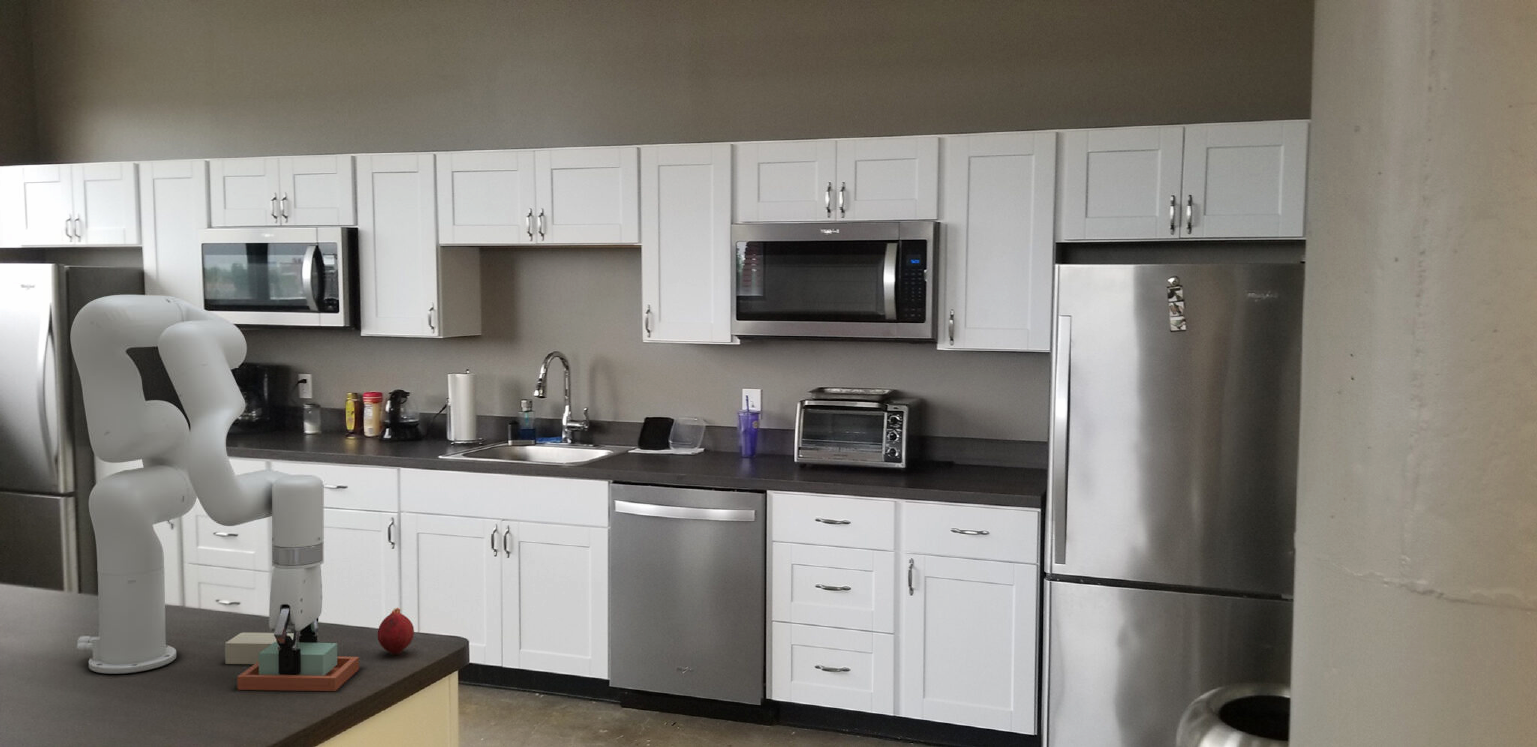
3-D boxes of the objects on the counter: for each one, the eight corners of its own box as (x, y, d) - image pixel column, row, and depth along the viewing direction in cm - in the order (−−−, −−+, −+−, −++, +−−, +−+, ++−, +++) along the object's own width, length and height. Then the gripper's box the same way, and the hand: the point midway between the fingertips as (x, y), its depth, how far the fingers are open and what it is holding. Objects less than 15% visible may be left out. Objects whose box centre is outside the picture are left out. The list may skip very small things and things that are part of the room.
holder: (237, 689, 177) (237, 676, 177) (266, 667, 188) (266, 655, 188) (335, 691, 178) (335, 677, 177) (359, 669, 188) (359, 656, 188)
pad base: (258, 675, 180) (258, 652, 179) (274, 662, 186) (274, 641, 185) (323, 676, 180) (323, 654, 179) (337, 664, 186) (337, 642, 185)
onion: (402, 661, 192) (402, 613, 192) (371, 658, 193) (370, 611, 193) (420, 650, 198) (419, 604, 197) (389, 648, 199) (388, 602, 199)
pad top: (225, 663, 190) (224, 642, 189) (241, 652, 196) (241, 632, 195) (286, 664, 190) (286, 643, 189) (300, 653, 196) (300, 633, 195)
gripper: (296, 542, 190) (296, 649, 191) (249, 566, 173) (250, 684, 174) (342, 543, 190) (341, 650, 191) (300, 567, 173) (300, 685, 174)
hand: (298, 665), depth 183 cm, fingers closed on pad base, 6 cm apart
